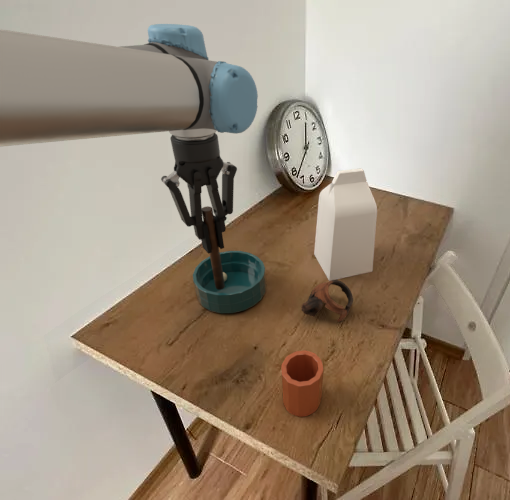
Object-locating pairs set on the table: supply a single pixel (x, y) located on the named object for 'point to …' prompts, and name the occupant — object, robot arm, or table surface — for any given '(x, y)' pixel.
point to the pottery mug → (327, 300)
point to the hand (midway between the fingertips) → (213, 247)
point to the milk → (346, 226)
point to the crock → (302, 382)
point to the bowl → (231, 282)
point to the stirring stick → (214, 247)
